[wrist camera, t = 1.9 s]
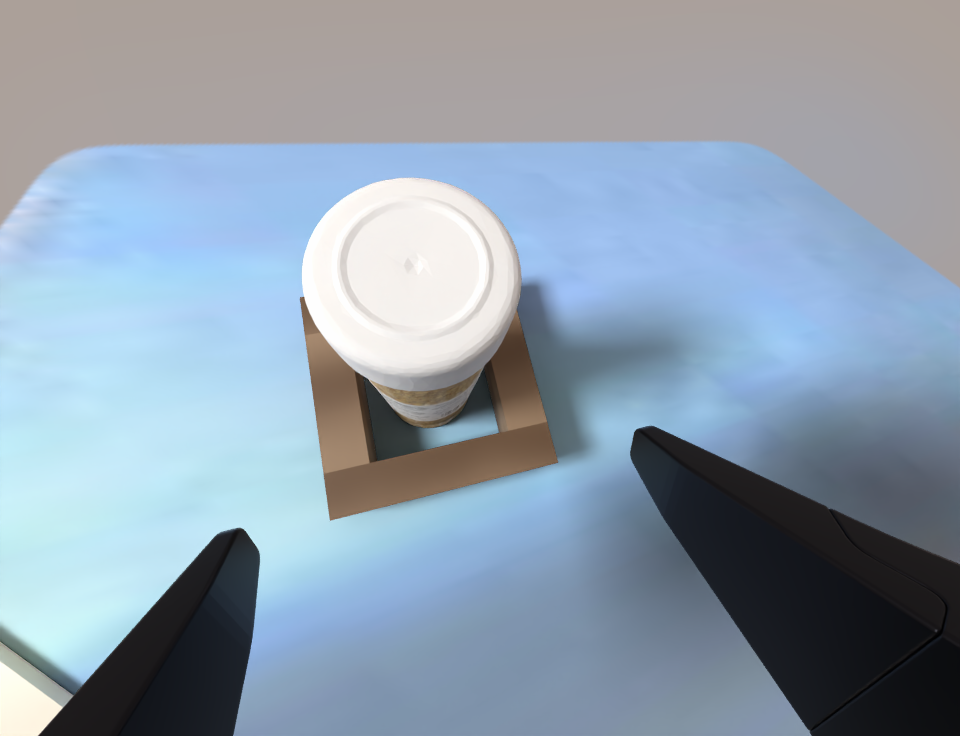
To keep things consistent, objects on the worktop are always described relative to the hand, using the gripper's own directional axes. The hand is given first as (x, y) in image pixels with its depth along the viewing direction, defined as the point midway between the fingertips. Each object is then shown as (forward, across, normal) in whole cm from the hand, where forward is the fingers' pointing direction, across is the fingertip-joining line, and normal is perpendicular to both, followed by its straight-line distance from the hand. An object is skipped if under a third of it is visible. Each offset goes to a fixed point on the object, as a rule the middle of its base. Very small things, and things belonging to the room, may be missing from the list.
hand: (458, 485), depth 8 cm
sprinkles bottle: (+11, 0, +5) cm, 12 cm away
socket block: (+11, 0, +5) cm, 12 cm away
